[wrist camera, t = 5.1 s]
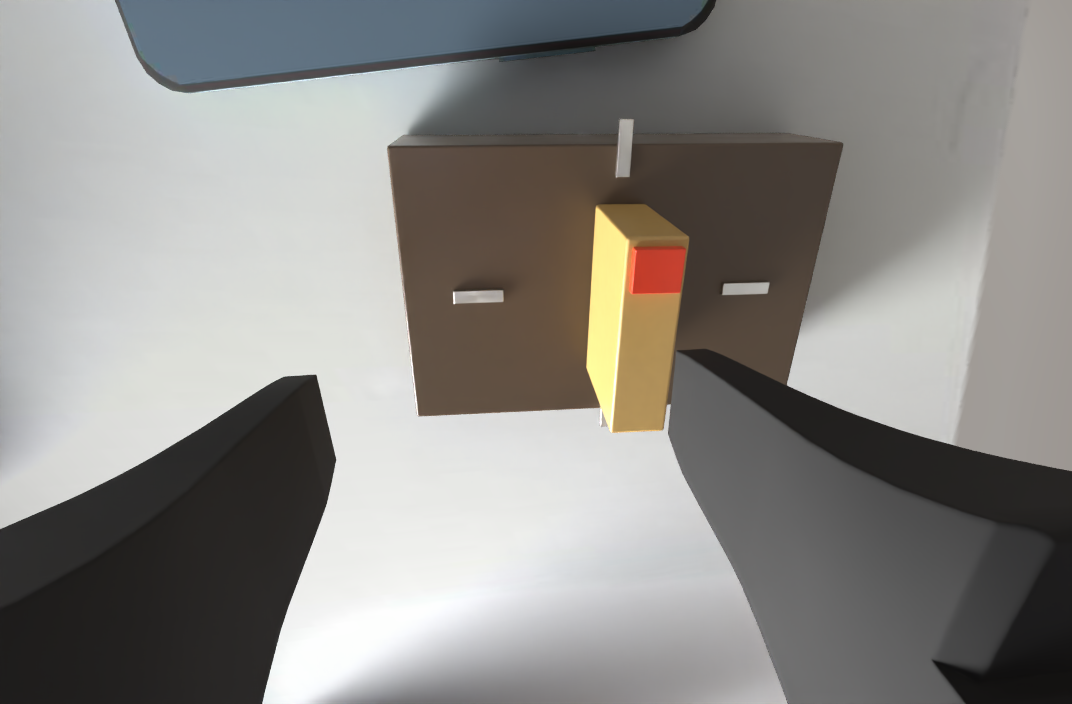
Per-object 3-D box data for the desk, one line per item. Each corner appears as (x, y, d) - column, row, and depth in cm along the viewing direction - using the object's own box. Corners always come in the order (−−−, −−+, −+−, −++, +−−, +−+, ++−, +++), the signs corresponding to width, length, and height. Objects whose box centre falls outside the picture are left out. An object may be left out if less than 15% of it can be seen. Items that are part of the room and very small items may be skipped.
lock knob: (630, 367, 17) (667, 437, 14) (585, 368, 17) (612, 439, 14) (646, 203, 15) (695, 239, 11) (595, 203, 15) (629, 240, 11)
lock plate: (426, 386, 20) (417, 436, 17) (399, 113, 16) (382, 120, 13) (742, 372, 21) (782, 417, 18) (792, 112, 17) (854, 118, 14)
